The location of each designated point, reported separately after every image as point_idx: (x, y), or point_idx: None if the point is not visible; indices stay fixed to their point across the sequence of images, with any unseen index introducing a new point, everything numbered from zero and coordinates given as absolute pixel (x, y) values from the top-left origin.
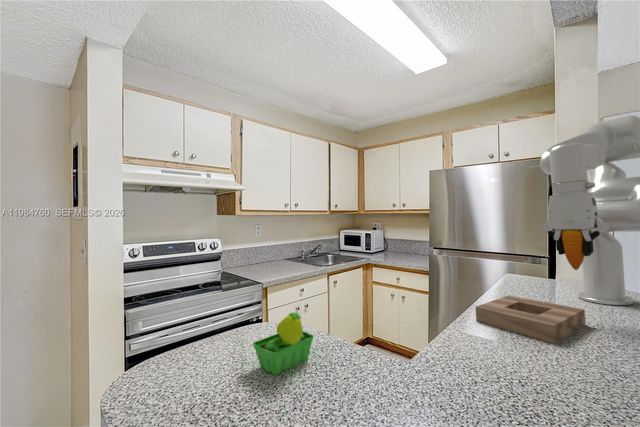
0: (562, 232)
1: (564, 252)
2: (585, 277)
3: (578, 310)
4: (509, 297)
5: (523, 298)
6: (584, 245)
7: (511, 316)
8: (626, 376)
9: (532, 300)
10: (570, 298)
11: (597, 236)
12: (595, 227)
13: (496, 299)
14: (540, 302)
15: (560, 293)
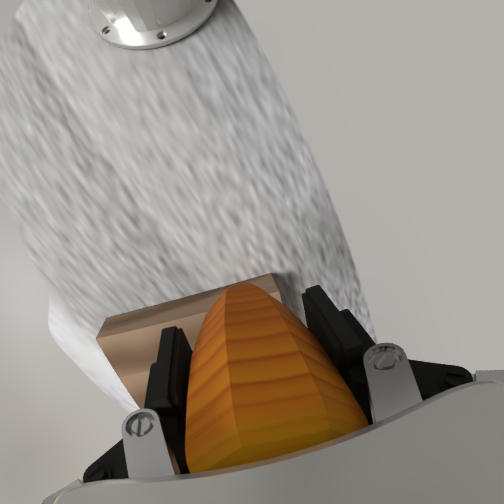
0: None
1: (191, 353)
2: (101, 2)
3: None
4: (117, 355)
5: (136, 335)
6: None
7: None
8: None
9: (160, 332)
10: (91, 63)
11: (432, 370)
12: (470, 394)
13: (128, 391)
14: (184, 330)
15: (49, 44)
